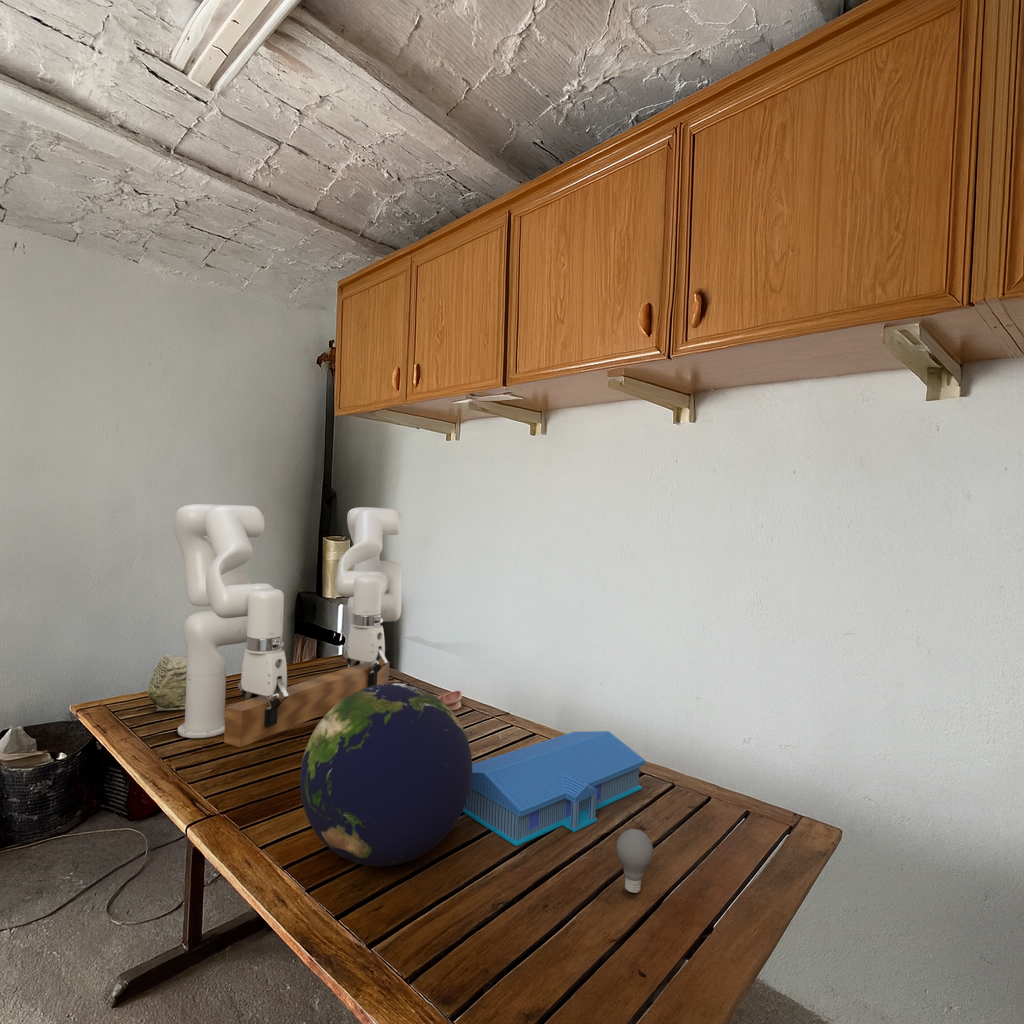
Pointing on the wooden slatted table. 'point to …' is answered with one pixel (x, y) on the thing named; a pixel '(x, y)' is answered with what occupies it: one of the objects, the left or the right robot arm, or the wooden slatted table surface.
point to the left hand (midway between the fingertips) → (261, 722)
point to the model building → (552, 784)
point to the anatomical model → (451, 699)
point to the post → (296, 704)
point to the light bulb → (634, 857)
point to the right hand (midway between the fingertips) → (363, 684)
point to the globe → (386, 775)
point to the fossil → (169, 683)
